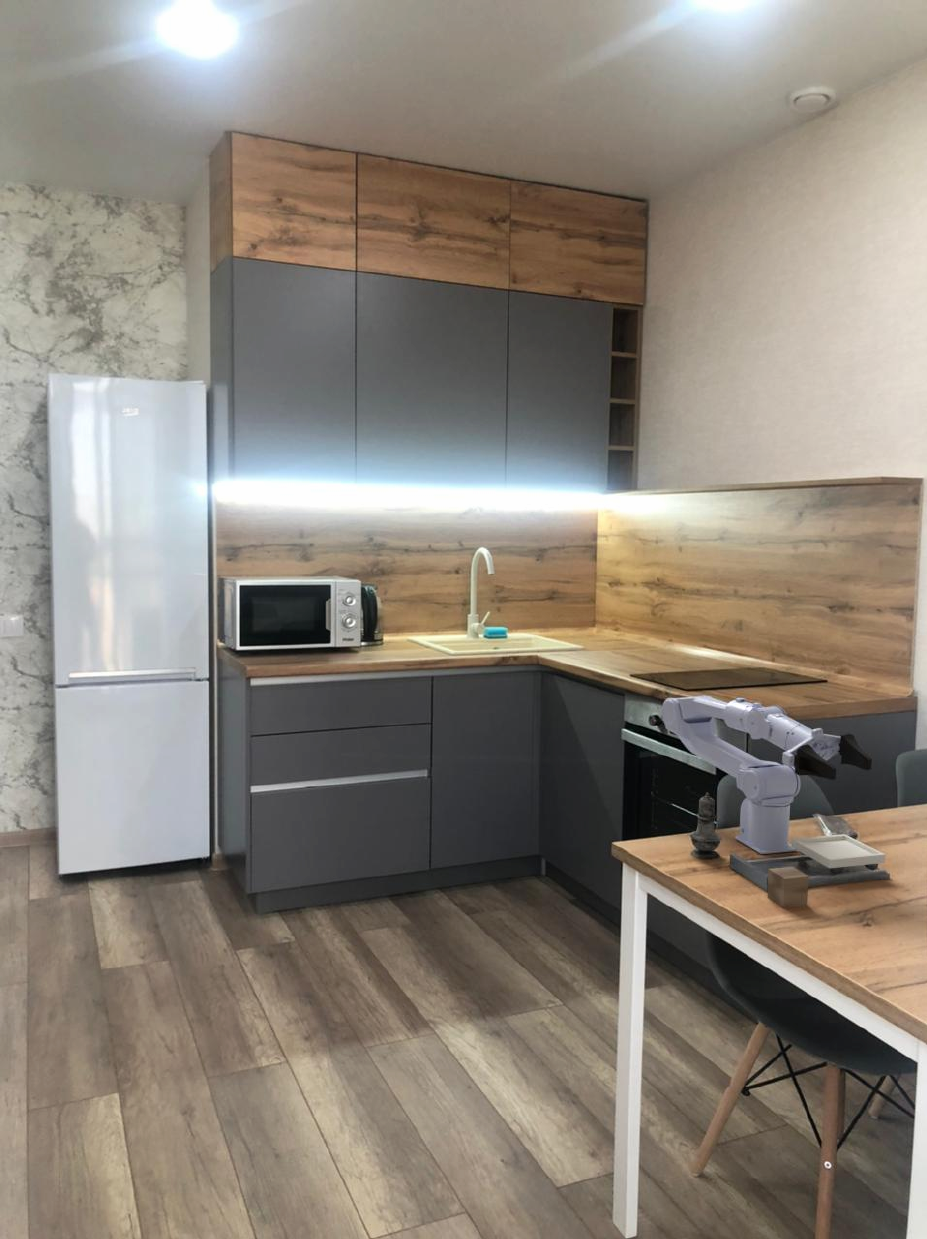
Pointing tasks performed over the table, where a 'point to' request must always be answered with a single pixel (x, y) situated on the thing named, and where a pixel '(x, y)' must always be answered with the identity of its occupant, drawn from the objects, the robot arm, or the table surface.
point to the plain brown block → (788, 887)
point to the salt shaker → (705, 831)
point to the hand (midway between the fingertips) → (852, 769)
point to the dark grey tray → (803, 870)
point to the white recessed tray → (838, 852)
